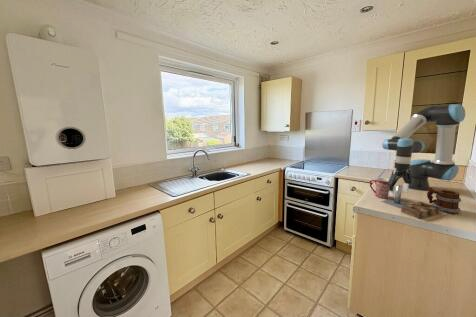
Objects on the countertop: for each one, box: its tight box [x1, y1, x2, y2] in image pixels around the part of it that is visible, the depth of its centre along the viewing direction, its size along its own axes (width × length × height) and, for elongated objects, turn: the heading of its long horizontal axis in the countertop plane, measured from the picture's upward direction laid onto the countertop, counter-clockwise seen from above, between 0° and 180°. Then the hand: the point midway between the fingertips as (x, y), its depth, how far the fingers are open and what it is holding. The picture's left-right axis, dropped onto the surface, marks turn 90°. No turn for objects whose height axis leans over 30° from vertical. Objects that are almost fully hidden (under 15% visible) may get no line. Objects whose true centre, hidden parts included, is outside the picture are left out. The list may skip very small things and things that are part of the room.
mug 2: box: [426, 186, 462, 215], centre depth 119 cm, size 12×14×15 cm
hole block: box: [400, 201, 440, 220], centre depth 116 cm, size 18×9×4 cm, turn 110°
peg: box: [394, 184, 403, 204], centre depth 129 cm, size 3×3×12 cm
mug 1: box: [369, 177, 390, 200], centre depth 142 cm, size 13×9×14 cm
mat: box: [380, 197, 411, 209], centre depth 130 cm, size 14×12×1 cm
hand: (398, 194), depth 129 cm, fingers open, 13 cm apart
